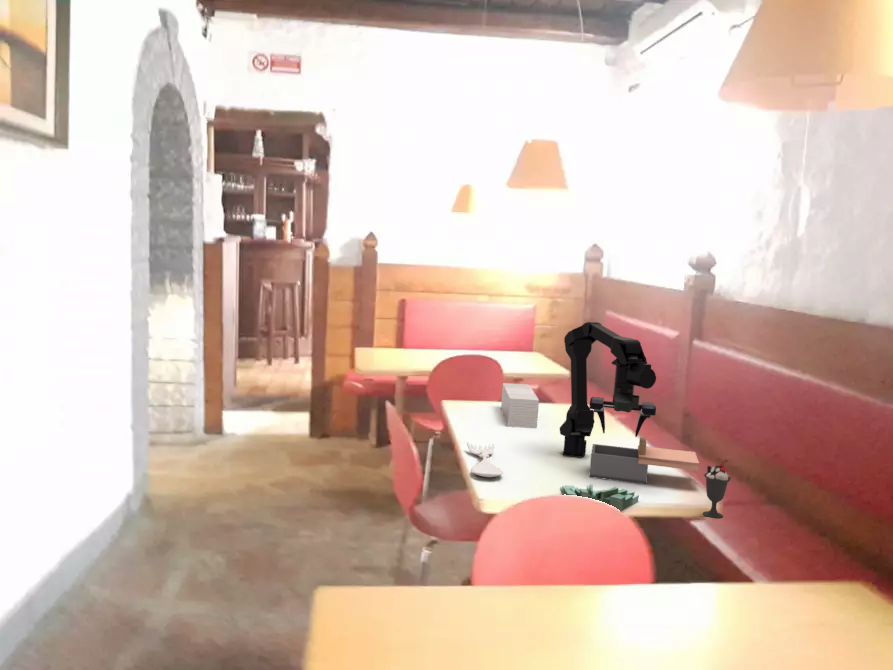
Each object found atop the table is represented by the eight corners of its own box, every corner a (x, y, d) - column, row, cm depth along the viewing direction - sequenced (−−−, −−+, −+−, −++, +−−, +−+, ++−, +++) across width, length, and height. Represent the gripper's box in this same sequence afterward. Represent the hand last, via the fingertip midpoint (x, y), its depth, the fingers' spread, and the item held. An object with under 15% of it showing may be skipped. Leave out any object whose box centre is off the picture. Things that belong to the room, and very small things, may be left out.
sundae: (729, 521, 195) (735, 462, 193) (701, 517, 196) (707, 459, 194) (725, 512, 201) (731, 456, 199) (698, 509, 202) (703, 453, 201)
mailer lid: (638, 463, 221) (640, 445, 221) (637, 451, 235) (639, 434, 234) (698, 470, 218) (700, 452, 217) (694, 458, 231) (695, 441, 231)
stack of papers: (500, 409, 315) (502, 382, 314) (527, 410, 316) (529, 384, 314) (507, 427, 284) (509, 398, 282) (536, 429, 284) (539, 400, 283)
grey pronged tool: (493, 452, 247) (494, 442, 246) (504, 483, 215) (505, 471, 215) (465, 451, 246) (466, 440, 246) (471, 481, 215) (472, 469, 214)
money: (568, 510, 196) (569, 491, 196) (559, 490, 212) (560, 473, 212) (647, 515, 196) (649, 496, 196) (632, 495, 212) (634, 477, 212)
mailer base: (589, 476, 226) (591, 453, 225) (590, 466, 237) (592, 443, 236) (646, 484, 222) (648, 460, 221) (645, 472, 234) (647, 450, 233)
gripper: (590, 383, 221) (586, 437, 222) (659, 389, 217) (653, 444, 219) (592, 377, 232) (588, 429, 233) (657, 383, 228) (652, 436, 229)
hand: (619, 434), depth 228 cm, fingers open, 9 cm apart
